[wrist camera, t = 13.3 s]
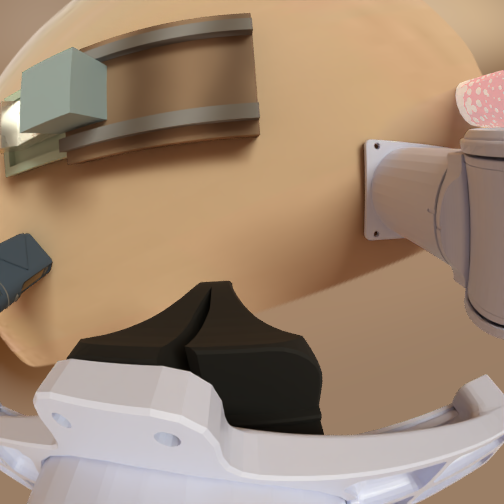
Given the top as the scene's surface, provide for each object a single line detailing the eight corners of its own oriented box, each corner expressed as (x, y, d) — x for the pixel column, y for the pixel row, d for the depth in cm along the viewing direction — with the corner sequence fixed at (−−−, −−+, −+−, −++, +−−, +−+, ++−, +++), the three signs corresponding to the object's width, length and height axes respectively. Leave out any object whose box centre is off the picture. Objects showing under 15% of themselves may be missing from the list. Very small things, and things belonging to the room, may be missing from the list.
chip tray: (75, 68, 16) (68, 65, 15) (77, 155, 19) (69, 155, 18) (11, 99, 16) (4, 98, 15) (13, 175, 19) (5, 177, 18)
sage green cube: (106, 65, 15) (72, 46, 10) (107, 119, 16) (69, 112, 12) (60, 83, 15) (22, 72, 10) (60, 134, 16) (19, 133, 12)
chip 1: (1, 101, 12) (-10, 111, 13) (1, 148, 14) (-10, 155, 14) (36, 101, 16) (22, 110, 17) (36, 143, 17) (23, 150, 18)
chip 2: (66, 85, 16) (44, 83, 13) (66, 130, 17) (43, 131, 15) (39, 101, 17) (18, 100, 14) (39, 143, 18) (18, 145, 15)
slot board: (249, 24, 16) (250, 6, 13) (258, 136, 19) (260, 132, 16) (79, 60, 16) (61, 51, 13) (80, 163, 19) (60, 165, 16)
